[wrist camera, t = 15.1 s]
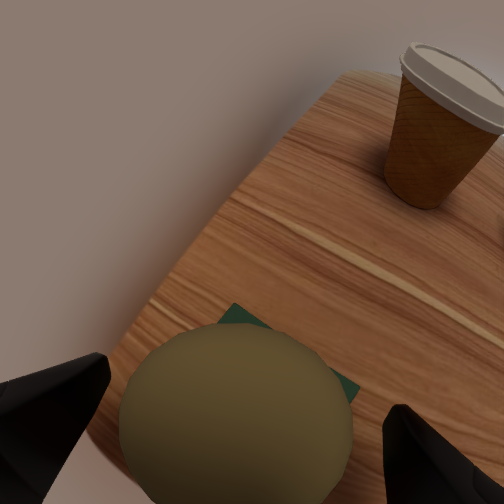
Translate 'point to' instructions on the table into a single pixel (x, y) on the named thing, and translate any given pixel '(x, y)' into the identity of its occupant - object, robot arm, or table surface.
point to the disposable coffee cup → (440, 124)
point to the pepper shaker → (235, 420)
